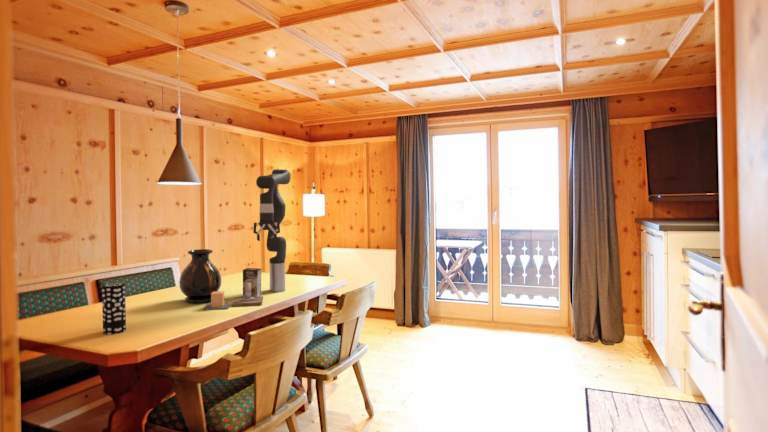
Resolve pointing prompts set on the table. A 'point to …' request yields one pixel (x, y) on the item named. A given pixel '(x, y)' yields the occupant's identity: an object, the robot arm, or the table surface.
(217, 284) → the dark brown ceramic vase
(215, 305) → the pinkish tan block
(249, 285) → the post stand
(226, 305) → the mat
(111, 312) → the white-spotted black cylinder
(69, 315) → the table surface
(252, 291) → the coffee box
